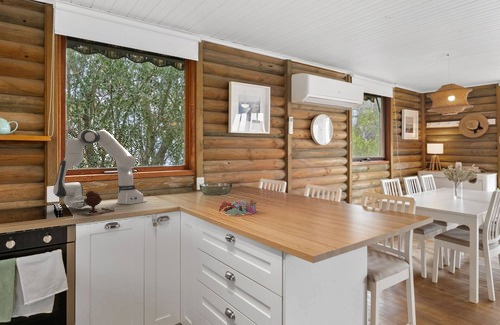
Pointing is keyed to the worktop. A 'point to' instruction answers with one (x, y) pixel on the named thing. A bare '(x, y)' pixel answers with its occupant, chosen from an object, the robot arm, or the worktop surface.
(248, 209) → the coral reef ornament
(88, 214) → the walnut bay
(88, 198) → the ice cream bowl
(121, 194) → the robot arm
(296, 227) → the worktop surface
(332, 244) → the worktop surface
